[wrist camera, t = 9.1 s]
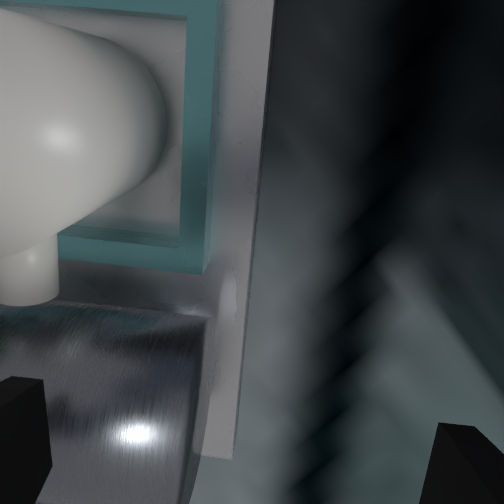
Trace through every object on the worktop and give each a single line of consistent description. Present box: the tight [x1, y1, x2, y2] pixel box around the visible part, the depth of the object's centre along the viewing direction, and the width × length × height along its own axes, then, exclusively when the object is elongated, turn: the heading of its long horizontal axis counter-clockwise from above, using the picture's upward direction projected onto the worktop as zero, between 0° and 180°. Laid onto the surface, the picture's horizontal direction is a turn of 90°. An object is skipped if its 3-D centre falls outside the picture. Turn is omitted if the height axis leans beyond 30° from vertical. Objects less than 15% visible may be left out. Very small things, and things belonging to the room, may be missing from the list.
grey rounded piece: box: [0, 8, 167, 306], centre depth 12 cm, size 5×7×6 cm
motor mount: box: [0, 0, 277, 504], centre depth 14 cm, size 12×18×8 cm, turn 175°
